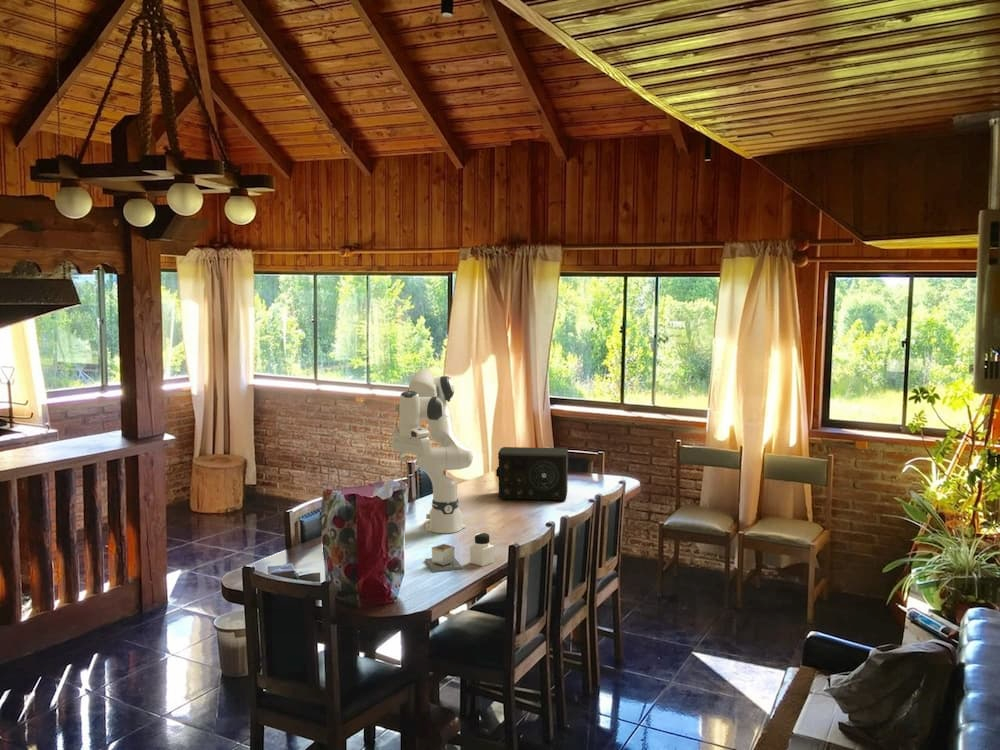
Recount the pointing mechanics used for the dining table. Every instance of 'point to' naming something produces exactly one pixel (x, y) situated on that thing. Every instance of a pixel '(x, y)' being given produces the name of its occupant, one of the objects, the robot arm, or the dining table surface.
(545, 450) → the vintage radio
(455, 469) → the robot arm
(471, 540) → the dining table surface
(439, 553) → the cream brown-topped cube
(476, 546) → the medicine bottle
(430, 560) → the duct base
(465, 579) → the dining table surface
